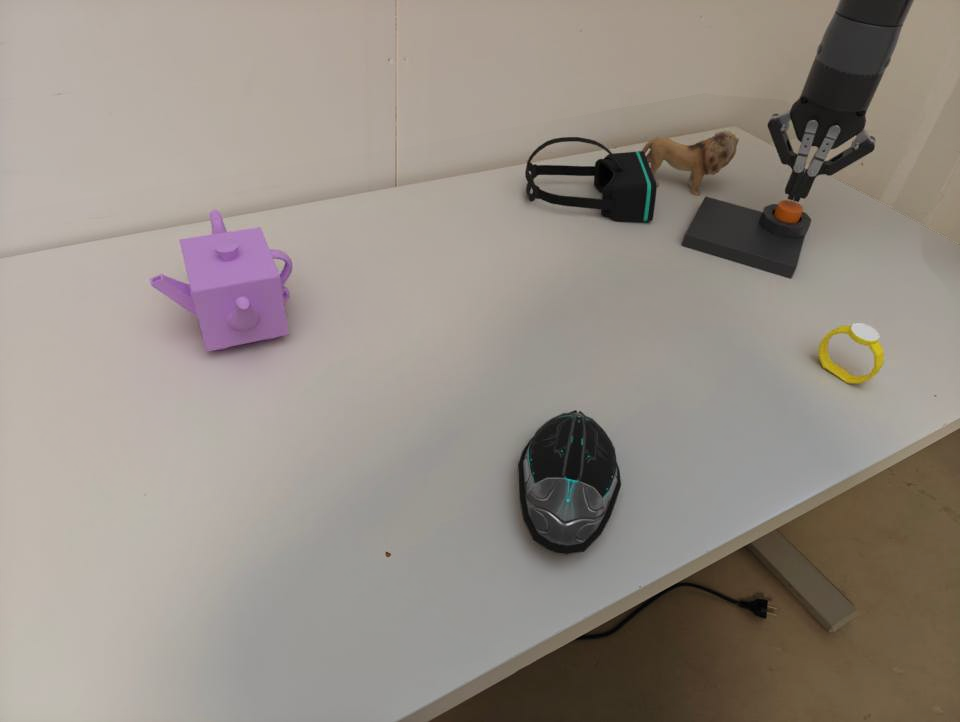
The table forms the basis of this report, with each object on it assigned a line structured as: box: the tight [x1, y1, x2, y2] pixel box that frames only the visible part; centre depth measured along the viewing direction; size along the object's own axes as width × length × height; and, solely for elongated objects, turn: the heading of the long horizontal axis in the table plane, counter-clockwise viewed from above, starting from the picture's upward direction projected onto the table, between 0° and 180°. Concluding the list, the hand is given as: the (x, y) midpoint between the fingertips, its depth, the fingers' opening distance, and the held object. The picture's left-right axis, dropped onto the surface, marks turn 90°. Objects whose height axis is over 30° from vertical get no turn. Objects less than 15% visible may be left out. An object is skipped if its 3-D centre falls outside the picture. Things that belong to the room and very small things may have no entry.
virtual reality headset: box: [524, 136, 658, 222], centre depth 94 cm, size 11×17×10 cm, turn 89°
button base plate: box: [681, 196, 812, 280], centre depth 91 cm, size 14×13×4 cm
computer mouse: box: [517, 409, 622, 555], centre depth 57 cm, size 9×17×6 cm, turn 168°
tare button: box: [774, 199, 804, 223], centre depth 90 cm, size 3×3×2 cm
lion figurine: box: [641, 130, 740, 197], centre depth 100 cm, size 15×5×9 cm, turn 79°
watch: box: [817, 322, 885, 385], centre depth 71 cm, size 6×3×6 cm, turn 40°
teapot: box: [149, 209, 293, 352], centre depth 68 cm, size 18×13×10 cm
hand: (793, 198), depth 89 cm, fingers closed
